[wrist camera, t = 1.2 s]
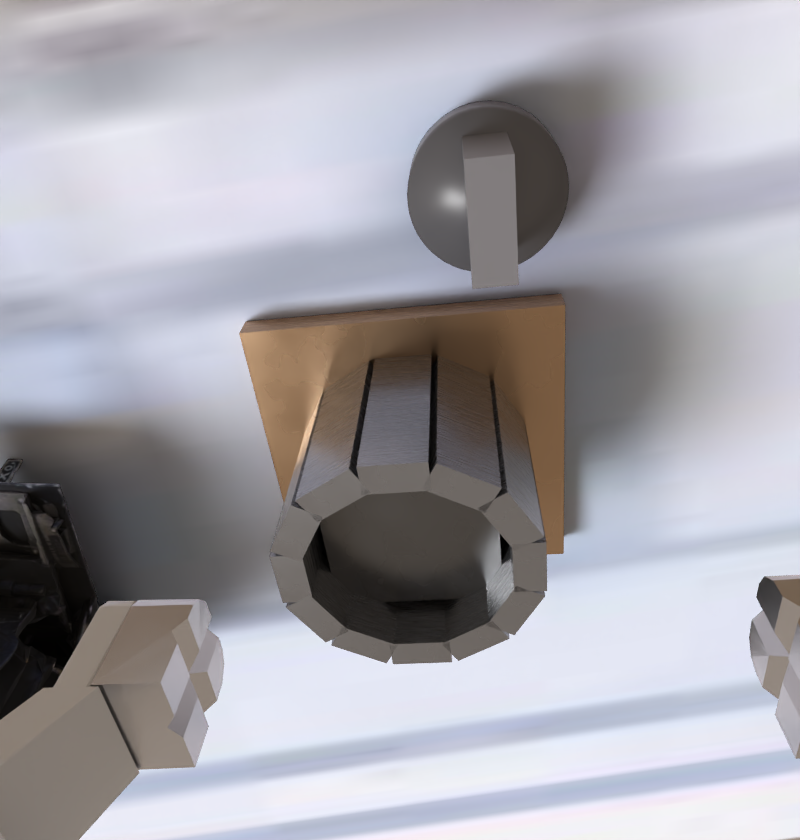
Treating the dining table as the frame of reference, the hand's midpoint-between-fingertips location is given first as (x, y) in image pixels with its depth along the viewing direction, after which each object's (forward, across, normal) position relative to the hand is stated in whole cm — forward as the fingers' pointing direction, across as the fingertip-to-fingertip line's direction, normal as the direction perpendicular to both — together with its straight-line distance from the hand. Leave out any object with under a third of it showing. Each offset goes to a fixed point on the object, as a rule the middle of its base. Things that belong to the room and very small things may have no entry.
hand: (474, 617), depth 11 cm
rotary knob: (+22, -1, -2) cm, 22 cm away
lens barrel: (+22, +3, +10) cm, 25 cm away
